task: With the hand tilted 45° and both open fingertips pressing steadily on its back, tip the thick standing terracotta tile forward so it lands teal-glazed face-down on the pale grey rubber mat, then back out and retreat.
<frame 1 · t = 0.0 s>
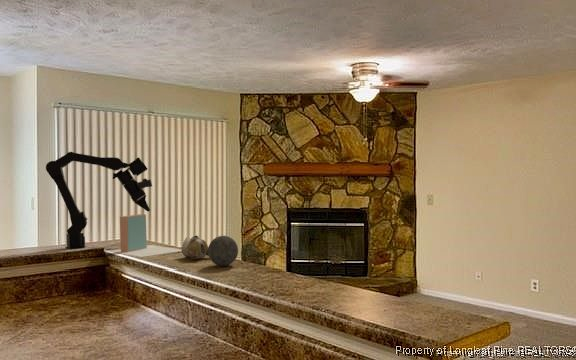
hand: (148, 210, 235), 15 cm above the table, fingers open, 9 cm apart
tile: (134, 249, 211), point 1 cm above the table, touching mat
ceramic sculpture: (197, 259, 189), on the table
decorative ball: (223, 266, 172), on the table
mat: (146, 252, 208), on the table
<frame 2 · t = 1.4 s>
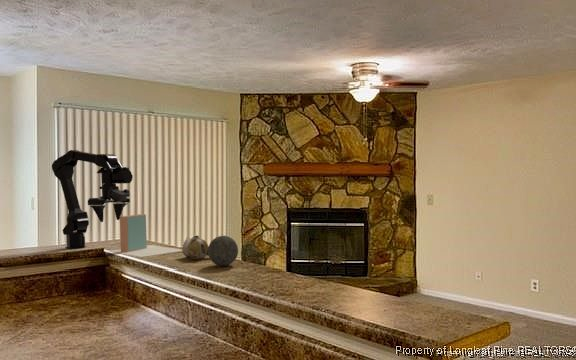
hand: (110, 220, 218), 12 cm above the table, fingers open, 9 cm apart
nothing on the table moved.
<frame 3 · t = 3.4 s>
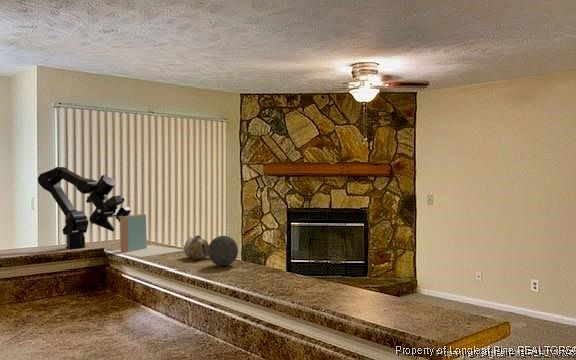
hand: (121, 229, 213), 9 cm above the table, fingers open, 9 cm apart
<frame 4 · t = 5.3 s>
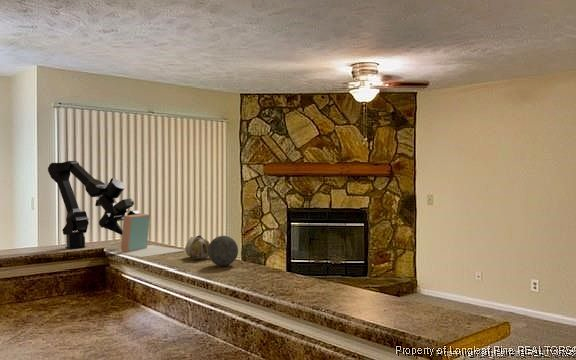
hand: (131, 233, 211), 7 cm above the table, fingers open, 9 cm apart
tile: (134, 249, 210), point 1 cm above the table, tilted 9°, touching mat
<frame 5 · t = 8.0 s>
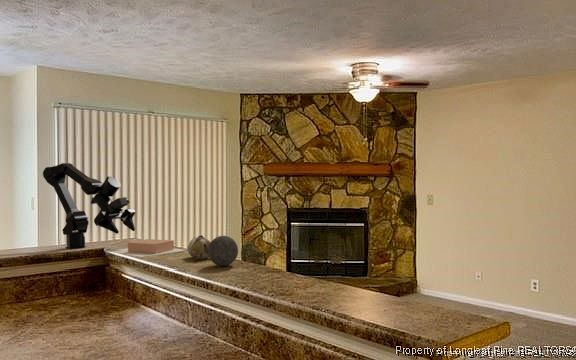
hand: (126, 231, 212), 8 cm above the table, fingers open, 9 cm apart
tile: (137, 245, 210), point 3 cm above the table, tilted 90°, touching mat
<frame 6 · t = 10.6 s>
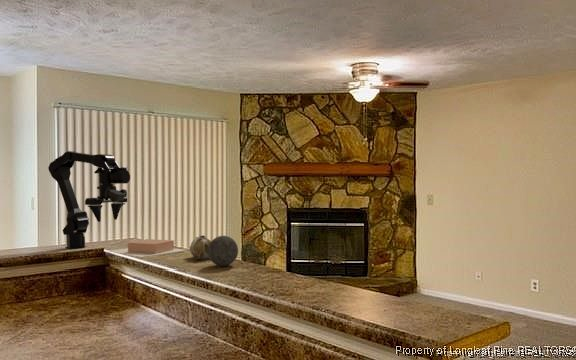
hand: (107, 220, 219), 12 cm above the table, fingers open, 9 cm apart
at the end: tile tilted 90°; tile inside the target area (0.4 cm from its centre), point 2.5 cm above the table; tile touching mat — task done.
